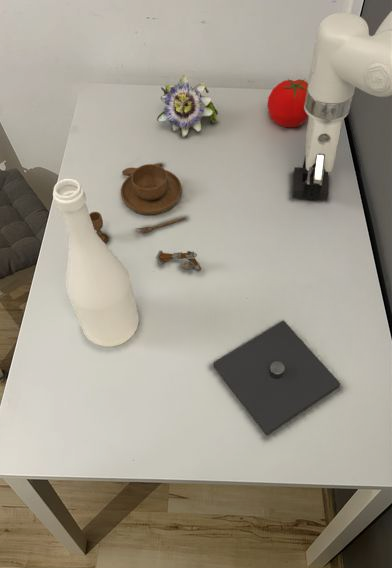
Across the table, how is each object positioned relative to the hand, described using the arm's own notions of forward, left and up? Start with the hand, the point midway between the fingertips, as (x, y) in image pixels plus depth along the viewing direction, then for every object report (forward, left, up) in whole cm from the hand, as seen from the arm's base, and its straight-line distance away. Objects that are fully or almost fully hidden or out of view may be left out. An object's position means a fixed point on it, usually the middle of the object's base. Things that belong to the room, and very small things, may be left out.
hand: (310, 183), depth 98 cm
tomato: (-1, -21, -1) cm, 21 cm away
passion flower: (+21, -24, -1) cm, 32 cm away
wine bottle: (+41, +26, -1) cm, 49 cm away
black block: (0, 0, -1) cm, 1 cm away
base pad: (+16, +40, -1) cm, 43 cm away
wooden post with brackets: (+28, +15, -1) cm, 32 cm away
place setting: (+35, -2, -1) cm, 35 cm away
